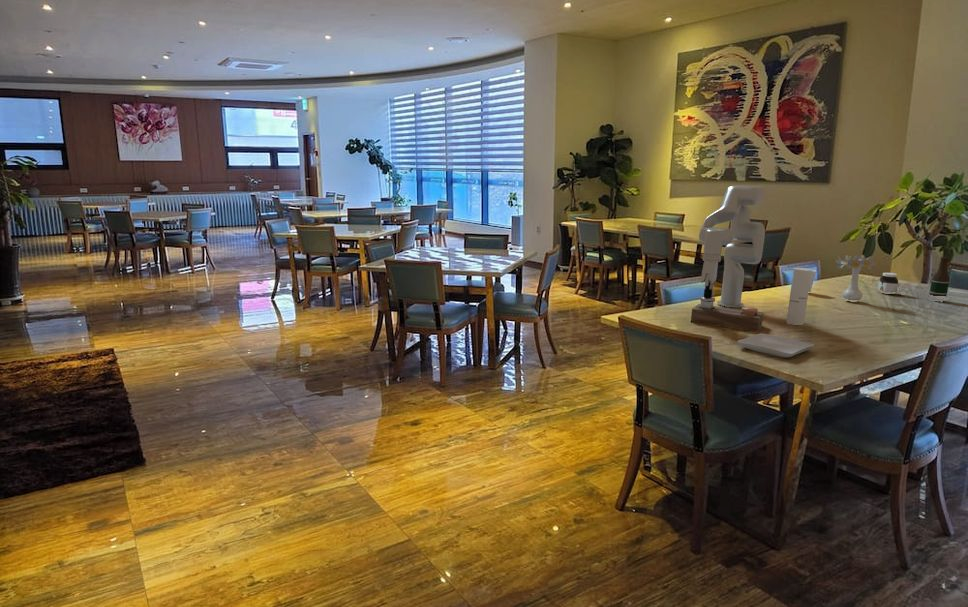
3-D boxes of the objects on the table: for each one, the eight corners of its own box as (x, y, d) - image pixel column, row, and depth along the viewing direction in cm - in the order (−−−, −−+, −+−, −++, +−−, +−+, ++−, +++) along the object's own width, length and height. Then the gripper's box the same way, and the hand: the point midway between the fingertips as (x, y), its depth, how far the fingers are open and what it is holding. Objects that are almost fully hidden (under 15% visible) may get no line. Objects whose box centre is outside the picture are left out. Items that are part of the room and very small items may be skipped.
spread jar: (874, 291, 356) (878, 271, 353) (895, 292, 355) (899, 272, 352) (886, 296, 344) (889, 275, 342) (907, 296, 343) (911, 276, 341)
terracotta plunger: (741, 319, 275) (743, 306, 274) (757, 321, 272) (758, 308, 270) (738, 322, 270) (740, 308, 268) (754, 324, 266) (756, 310, 265)
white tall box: (805, 326, 274) (813, 270, 268) (788, 325, 275) (796, 270, 270) (801, 322, 281) (808, 268, 275) (784, 321, 282) (791, 267, 277)
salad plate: (760, 339, 252) (761, 331, 252) (814, 352, 237) (815, 343, 236) (734, 349, 239) (735, 340, 238) (790, 362, 223) (792, 353, 222)
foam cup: (797, 293, 345) (800, 270, 342) (792, 290, 354) (795, 268, 351) (815, 294, 344) (818, 271, 341) (809, 291, 353) (813, 269, 350)
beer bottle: (949, 302, 330) (957, 258, 325) (934, 302, 330) (942, 258, 325) (938, 299, 338) (947, 256, 332) (924, 299, 338) (932, 255, 332)
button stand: (697, 316, 288) (698, 304, 287) (761, 325, 274) (763, 312, 272) (690, 321, 278) (692, 308, 277) (757, 331, 264) (759, 317, 262)
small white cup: (700, 308, 284) (702, 295, 282) (715, 310, 280) (716, 297, 279) (697, 311, 278) (698, 298, 277) (712, 313, 275) (713, 299, 274)
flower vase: (833, 296, 339) (840, 251, 333) (872, 302, 327) (879, 255, 321) (827, 300, 329) (834, 254, 324) (867, 306, 317) (874, 258, 312)
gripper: (706, 254, 282) (702, 294, 286) (699, 258, 270) (694, 299, 274) (724, 256, 278) (719, 296, 282) (716, 260, 266) (712, 301, 270)
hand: (707, 297), depth 278 cm, fingers closed
